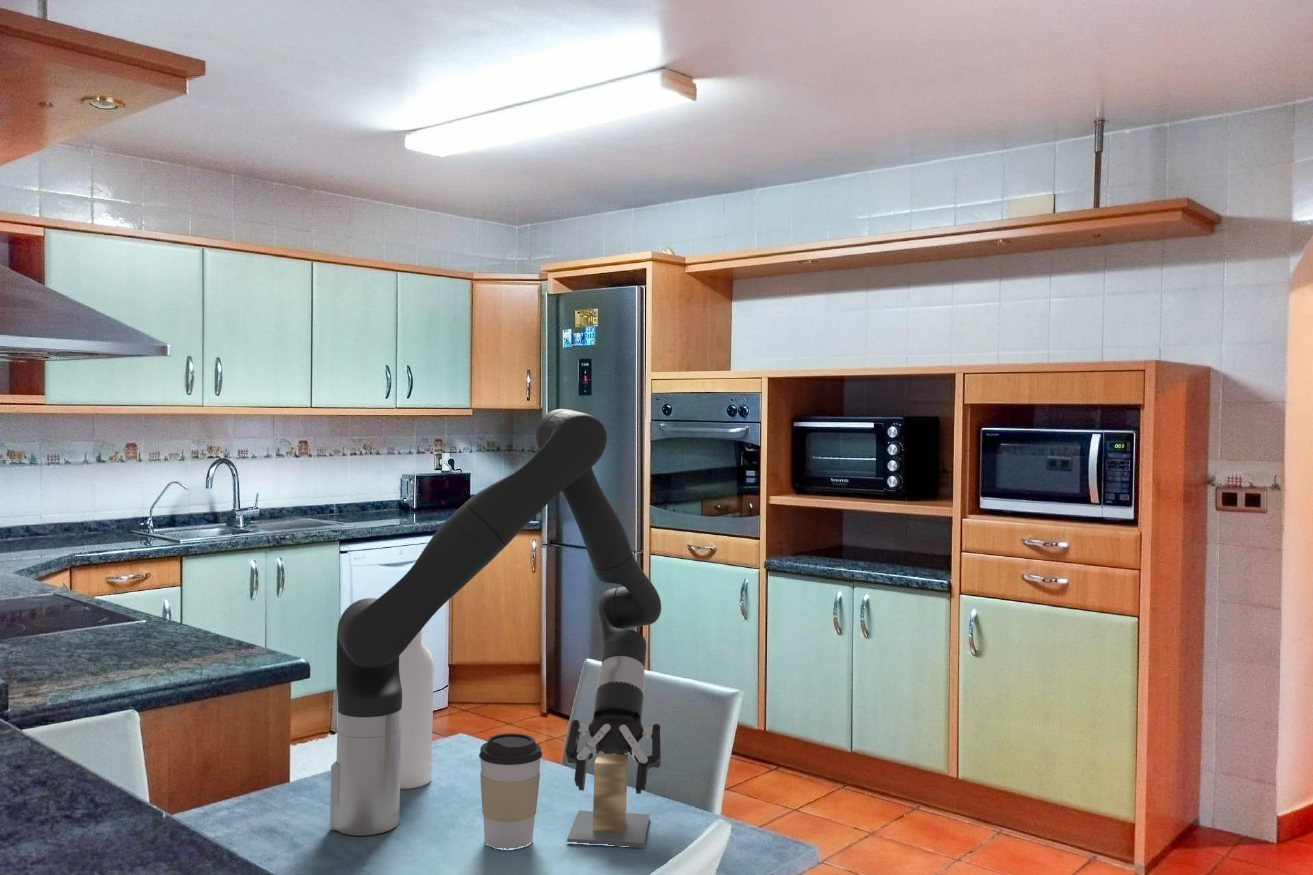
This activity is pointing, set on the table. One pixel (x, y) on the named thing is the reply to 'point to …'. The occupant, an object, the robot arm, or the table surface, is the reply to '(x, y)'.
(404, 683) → the bottle
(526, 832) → the coffee cup
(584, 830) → the slate coaster
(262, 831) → the table surface
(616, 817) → the oak block
